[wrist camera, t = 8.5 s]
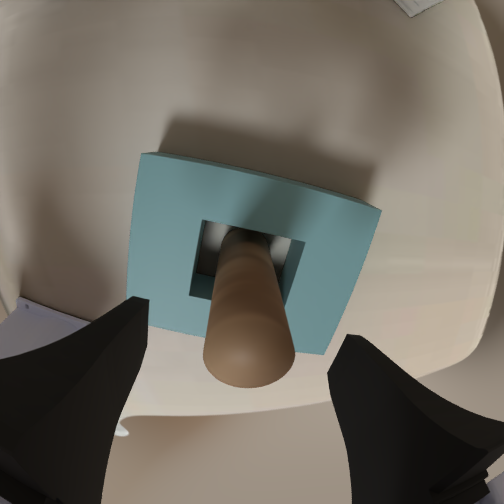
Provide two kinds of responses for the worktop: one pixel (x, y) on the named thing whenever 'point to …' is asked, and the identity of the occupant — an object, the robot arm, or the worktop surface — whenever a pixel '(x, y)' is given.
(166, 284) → the hole block
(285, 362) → the walnut peg
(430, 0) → the syrup box
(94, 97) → the worktop surface
